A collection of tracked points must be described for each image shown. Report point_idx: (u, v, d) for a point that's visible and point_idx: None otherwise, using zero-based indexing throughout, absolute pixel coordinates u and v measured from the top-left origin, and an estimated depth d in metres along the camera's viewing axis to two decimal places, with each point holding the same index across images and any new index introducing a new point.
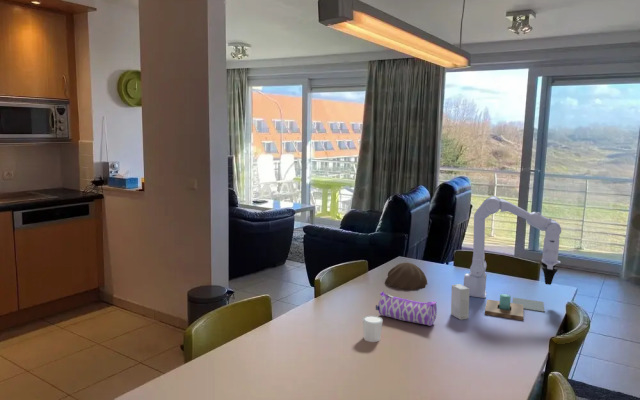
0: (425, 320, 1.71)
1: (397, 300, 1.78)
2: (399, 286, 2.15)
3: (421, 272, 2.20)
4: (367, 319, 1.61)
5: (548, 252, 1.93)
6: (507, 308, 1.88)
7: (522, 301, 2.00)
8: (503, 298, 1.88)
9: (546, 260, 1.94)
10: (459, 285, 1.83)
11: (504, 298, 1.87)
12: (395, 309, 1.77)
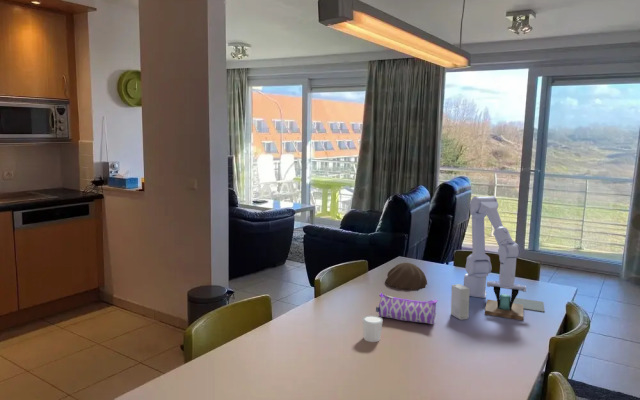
0: (427, 318, 1.72)
1: (398, 300, 1.78)
2: (399, 286, 2.15)
3: (421, 272, 2.20)
4: (367, 319, 1.61)
5: None
6: (507, 308, 1.88)
7: (522, 301, 2.00)
8: (503, 298, 1.88)
9: None
10: (459, 285, 1.83)
11: (504, 298, 1.87)
12: (396, 309, 1.76)
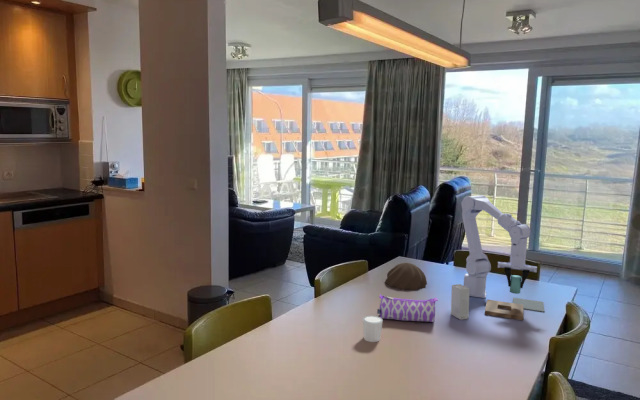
0: (430, 317, 1.74)
1: (398, 301, 1.77)
2: (400, 286, 2.15)
3: (421, 272, 2.20)
4: (367, 319, 1.61)
5: None
6: (518, 289, 1.90)
7: (522, 301, 2.00)
8: (514, 279, 1.89)
9: None
10: (459, 285, 1.83)
11: (515, 279, 1.89)
12: (398, 310, 1.76)
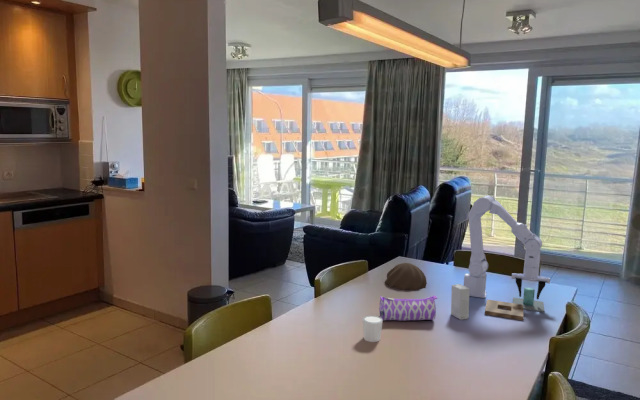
0: (431, 315, 1.76)
1: (399, 301, 1.77)
2: (400, 286, 2.15)
3: (421, 272, 2.20)
4: (367, 319, 1.61)
5: None
6: (531, 301, 1.95)
7: (522, 301, 2.00)
8: (527, 291, 1.95)
9: None
10: (459, 285, 1.83)
11: (528, 291, 1.95)
12: (401, 311, 1.75)
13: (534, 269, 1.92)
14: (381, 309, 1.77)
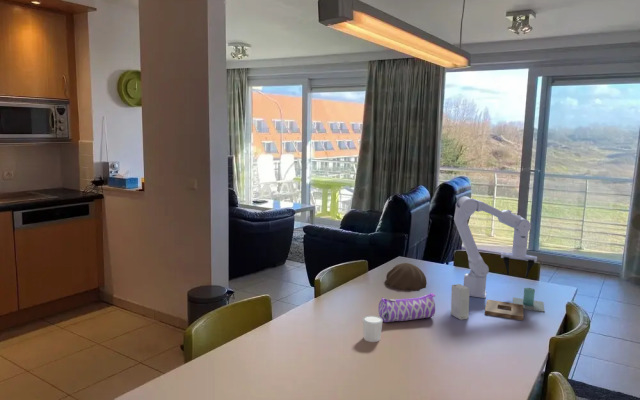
0: (431, 312, 1.78)
1: (401, 302, 1.76)
2: (401, 287, 2.14)
3: (421, 272, 2.20)
4: (367, 319, 1.61)
5: None
6: (531, 301, 1.95)
7: (522, 301, 2.00)
8: (527, 291, 1.95)
9: None
10: (459, 285, 1.83)
11: (528, 291, 1.95)
12: (404, 311, 1.75)
13: (522, 248, 2.02)
14: (384, 311, 1.75)
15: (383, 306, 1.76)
